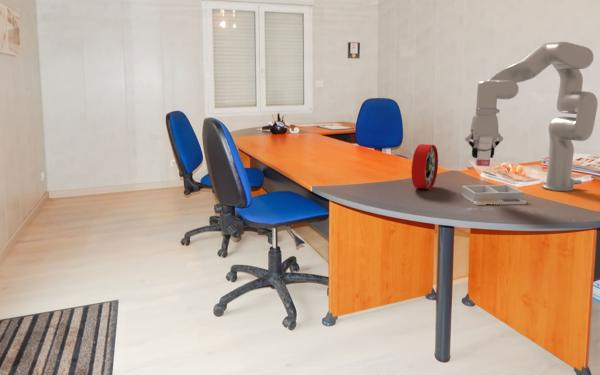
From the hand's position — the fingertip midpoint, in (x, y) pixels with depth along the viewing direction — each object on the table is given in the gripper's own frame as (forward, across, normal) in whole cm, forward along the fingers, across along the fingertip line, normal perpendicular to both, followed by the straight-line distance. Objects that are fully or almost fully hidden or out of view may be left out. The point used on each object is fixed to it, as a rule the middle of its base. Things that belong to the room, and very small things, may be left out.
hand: (482, 157), depth 201 cm
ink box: (+3, 0, 0) cm, 3 cm away
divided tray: (+17, -5, +1) cm, 18 cm away
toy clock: (+18, +17, -21) cm, 32 cm away
